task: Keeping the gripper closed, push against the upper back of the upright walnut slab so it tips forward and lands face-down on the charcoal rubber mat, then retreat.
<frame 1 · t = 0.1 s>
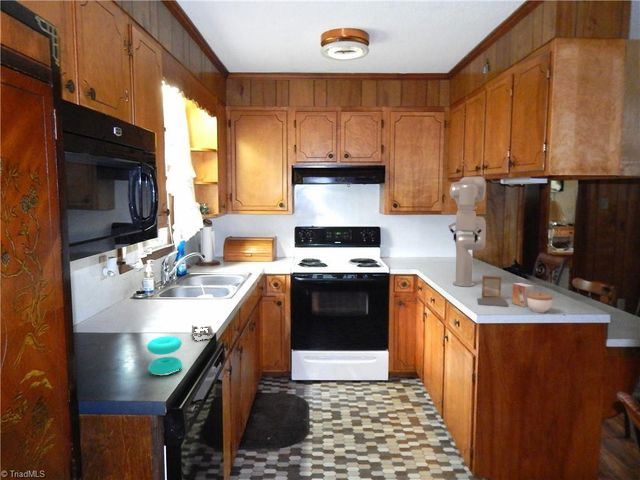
hand: (465, 242, 220), 31 cm above the countertop, tool pointing down, fingers open, 9 cm apart
mat: (492, 303, 219), on the countertop
donuts: (165, 371, 134), on the countertop
small box: (522, 305, 215), on the countertop
egg carton: (202, 337, 167), on the countertop
slab: (490, 298, 229), on the countertop
lidded jar: (538, 311, 203), on the countertop
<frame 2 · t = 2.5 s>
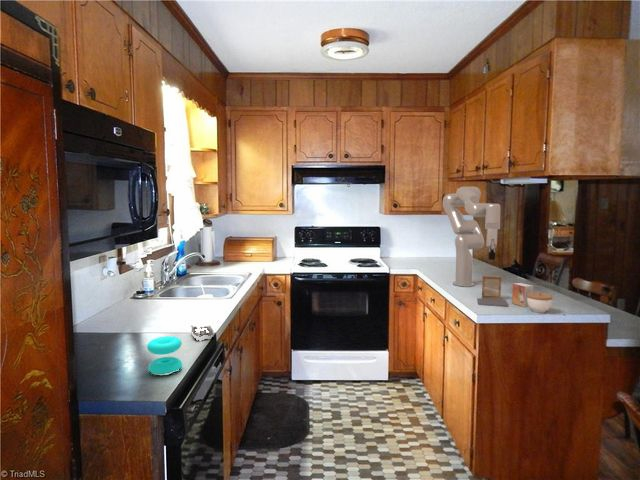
hand: (491, 259, 235), 20 cm above the countertop, tool pointing down, fingers closed
nothing on the countertop moved.
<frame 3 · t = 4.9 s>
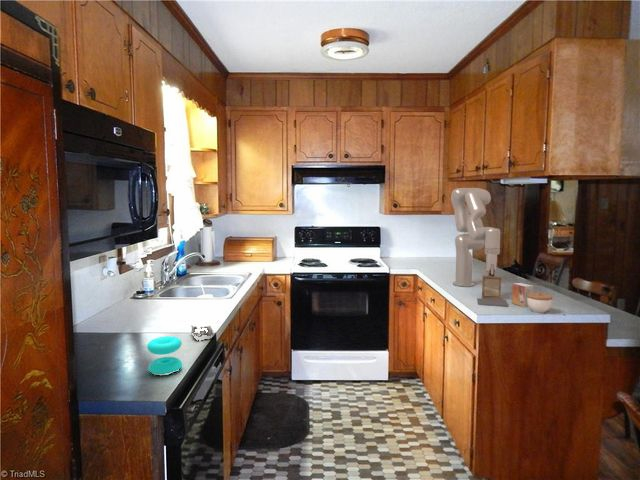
hand: (491, 284, 233), 7 cm above the countertop, tool pointing down, fingers closed
slab: (490, 298, 229), on the countertop, touching gripper
everything else where it was.
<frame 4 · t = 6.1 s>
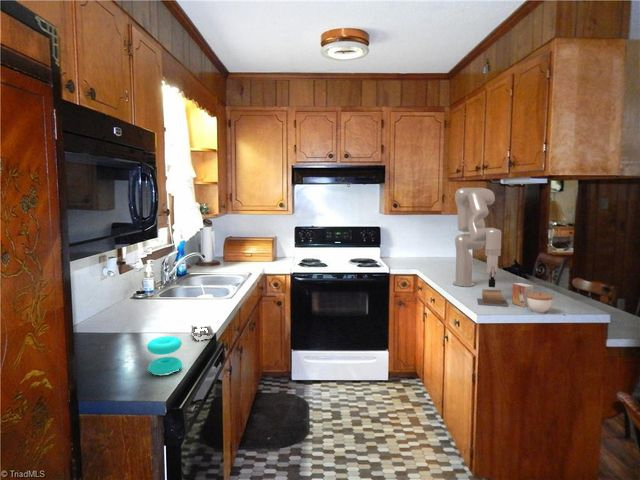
hand: (491, 286, 227), 7 cm above the countertop, tool pointing down, fingers closed
slab: (491, 293, 227), point 3 cm above the countertop, tilted 90°, touching mat
everything else where it was.
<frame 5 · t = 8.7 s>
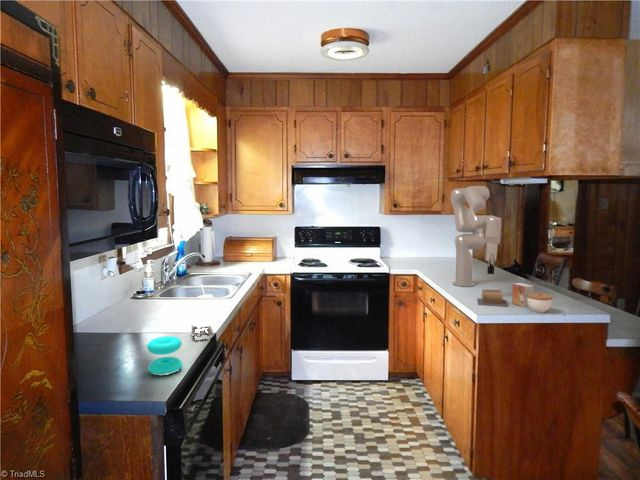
hand: (490, 273, 231), 13 cm above the countertop, tool pointing down, fingers closed
nothing on the countertop moved.
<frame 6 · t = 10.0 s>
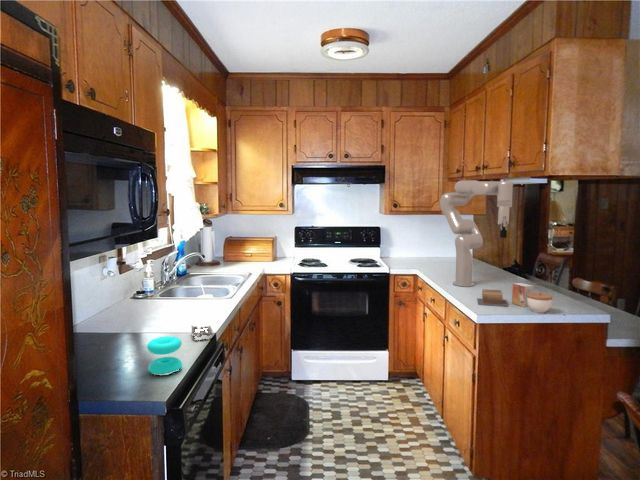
hand: (503, 237, 235), 32 cm above the countertop, tool pointing down, fingers closed
nothing on the countertop moved.
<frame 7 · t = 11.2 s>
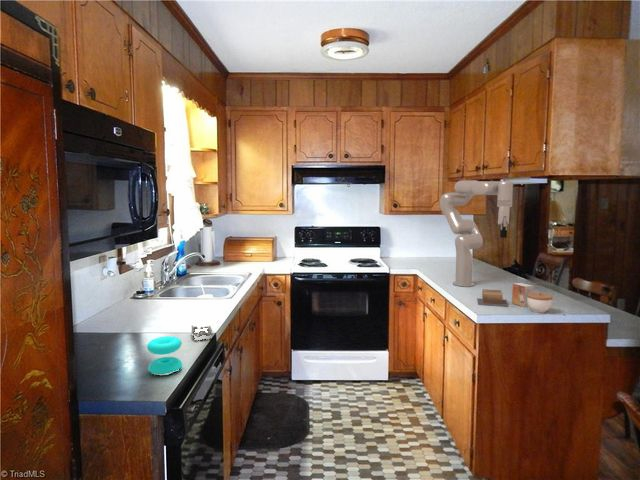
hand: (503, 237, 235), 32 cm above the countertop, tool pointing down, fingers closed
nothing on the countertop moved.
at the end: slab tilted 90°; slab inside the target area (6.9 cm from its centre), point 3.0 cm above the countertop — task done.
